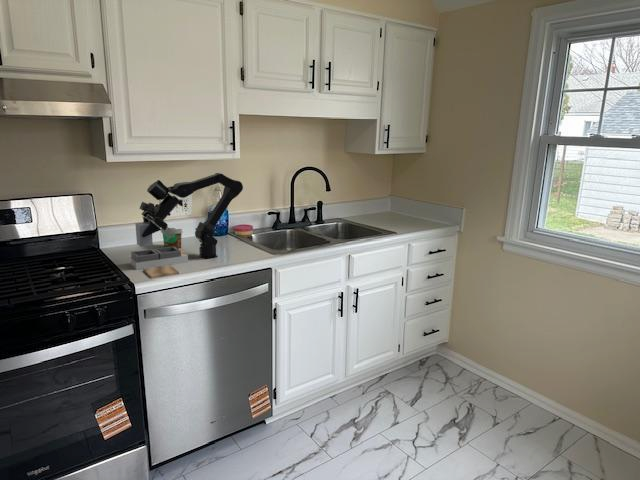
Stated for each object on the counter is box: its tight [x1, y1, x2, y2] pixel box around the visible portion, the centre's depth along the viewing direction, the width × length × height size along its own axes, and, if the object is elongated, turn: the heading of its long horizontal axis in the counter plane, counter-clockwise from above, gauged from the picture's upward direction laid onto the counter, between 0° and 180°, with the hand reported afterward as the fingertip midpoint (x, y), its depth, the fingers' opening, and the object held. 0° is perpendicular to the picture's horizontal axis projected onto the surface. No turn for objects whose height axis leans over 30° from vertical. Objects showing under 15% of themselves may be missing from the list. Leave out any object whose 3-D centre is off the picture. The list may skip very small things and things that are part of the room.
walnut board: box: [142, 265, 180, 279], centre depth 190 cm, size 11×11×1 cm
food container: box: [160, 227, 183, 250], centre depth 226 cm, size 12×6×10 cm, turn 56°
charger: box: [134, 221, 154, 247], centre depth 195 cm, size 5×5×9 cm
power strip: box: [130, 246, 189, 271], centre depth 202 cm, size 22×9×6 cm, turn 126°
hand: (140, 235), depth 194 cm, fingers closed on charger, 5 cm apart
